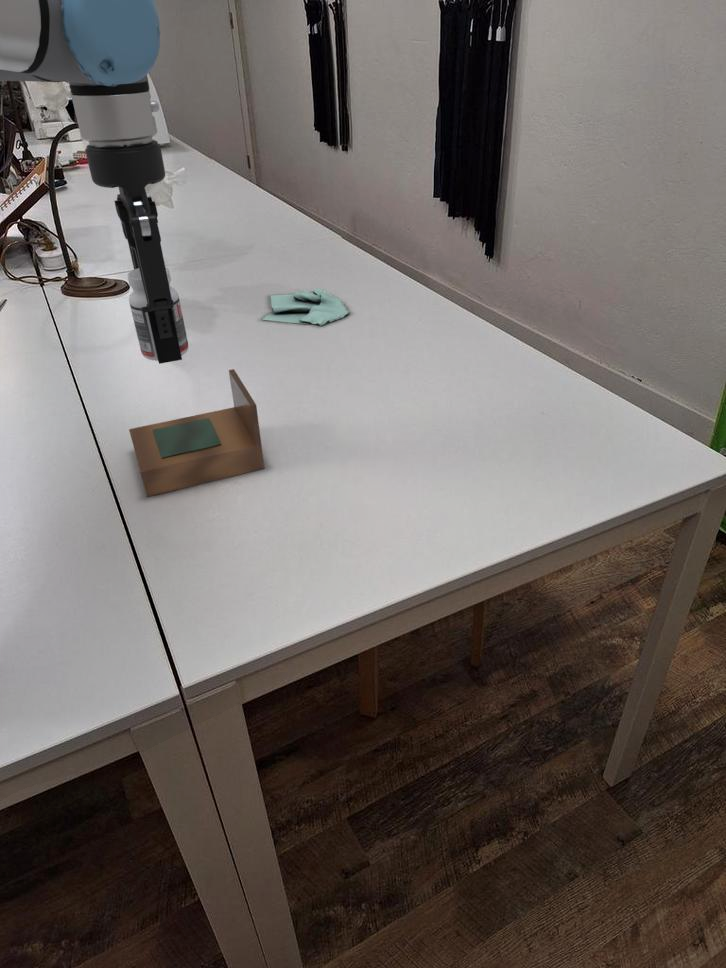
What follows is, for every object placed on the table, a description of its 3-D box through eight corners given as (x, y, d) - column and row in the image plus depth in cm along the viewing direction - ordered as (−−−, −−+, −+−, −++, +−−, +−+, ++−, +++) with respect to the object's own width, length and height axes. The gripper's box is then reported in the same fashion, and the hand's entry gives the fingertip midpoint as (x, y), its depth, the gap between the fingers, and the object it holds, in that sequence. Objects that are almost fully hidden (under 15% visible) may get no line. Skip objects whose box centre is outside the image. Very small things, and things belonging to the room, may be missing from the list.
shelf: (146, 497, 85) (129, 431, 80) (135, 452, 95) (118, 390, 89) (264, 468, 90) (256, 404, 85) (242, 429, 99) (233, 368, 94)
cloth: (328, 330, 131) (327, 319, 130) (237, 315, 139) (235, 304, 137) (370, 298, 146) (370, 288, 145) (286, 286, 154) (285, 276, 152)
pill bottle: (193, 342, 83) (178, 264, 77) (184, 361, 78) (168, 279, 73) (148, 344, 83) (130, 265, 77) (136, 363, 78) (116, 280, 73)
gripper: (173, 150, 61) (212, 374, 75) (146, 128, 75) (182, 320, 89) (90, 157, 59) (145, 387, 72) (78, 133, 73) (126, 329, 87)
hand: (165, 350), depth 81 cm, fingers closed on pill bottle, 6 cm apart
